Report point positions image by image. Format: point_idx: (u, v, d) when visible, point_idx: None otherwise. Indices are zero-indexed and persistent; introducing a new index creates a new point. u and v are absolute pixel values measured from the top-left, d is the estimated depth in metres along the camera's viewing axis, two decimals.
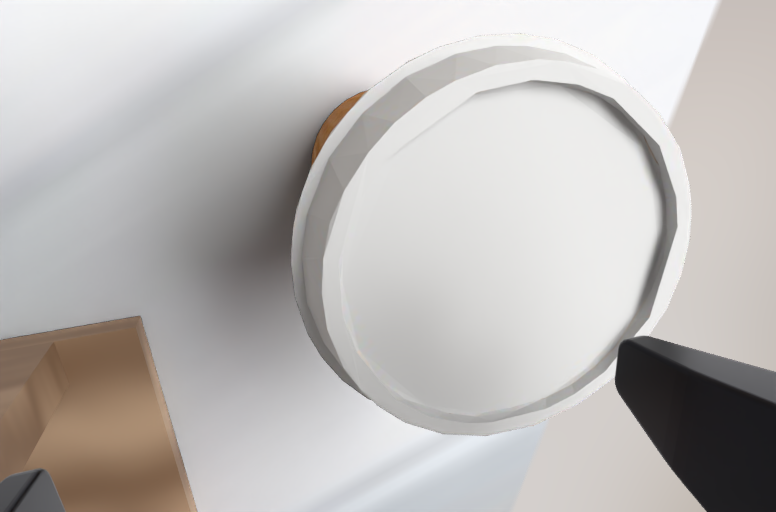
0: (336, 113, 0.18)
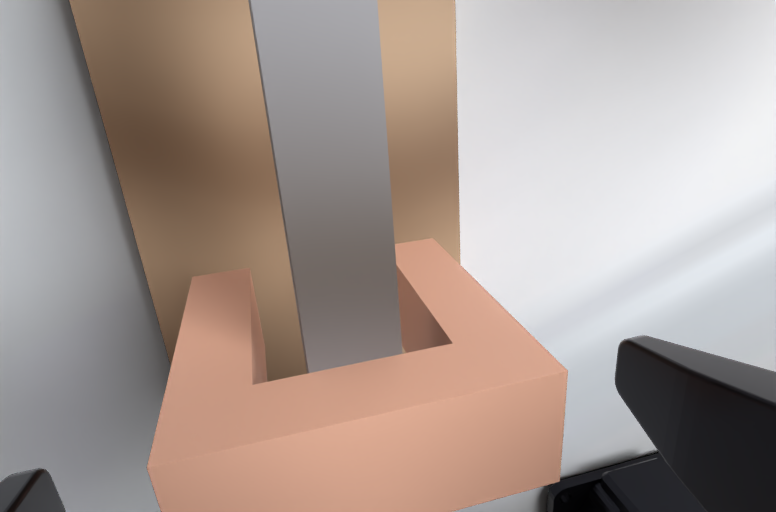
0: None
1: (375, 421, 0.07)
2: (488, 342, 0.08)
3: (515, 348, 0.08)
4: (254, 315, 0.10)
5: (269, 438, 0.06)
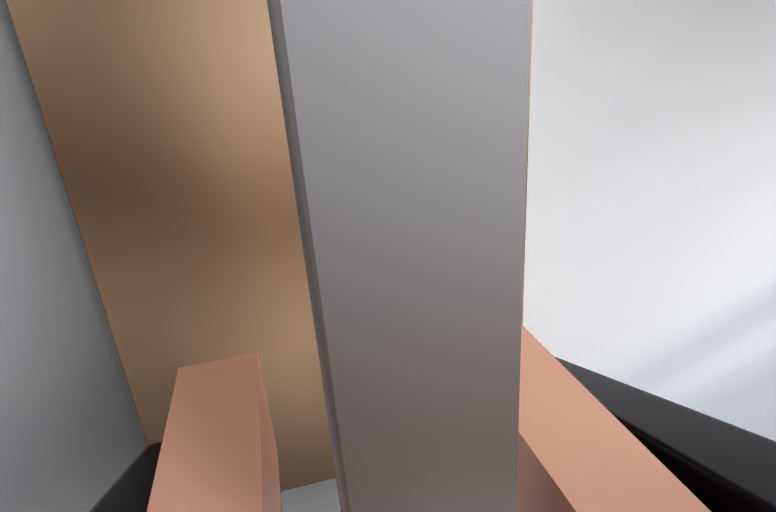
0: None
1: None
2: None
3: None
4: (265, 433, 0.07)
5: None
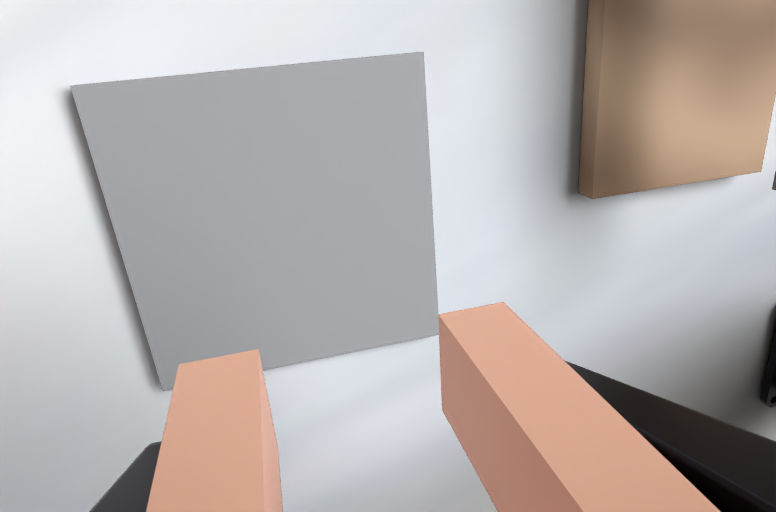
0: None
1: None
2: None
3: None
4: (266, 430, 0.07)
5: None
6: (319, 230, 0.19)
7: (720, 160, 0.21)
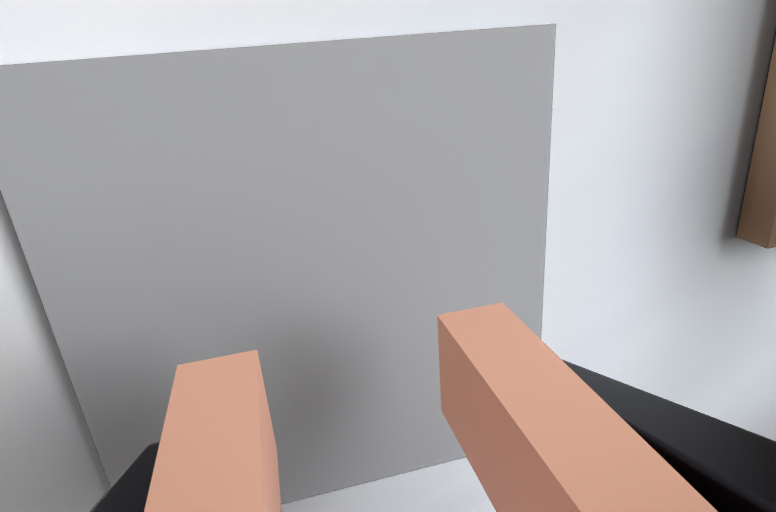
0: None
1: None
2: None
3: None
4: (264, 431, 0.07)
5: None
6: (377, 301, 0.12)
7: None
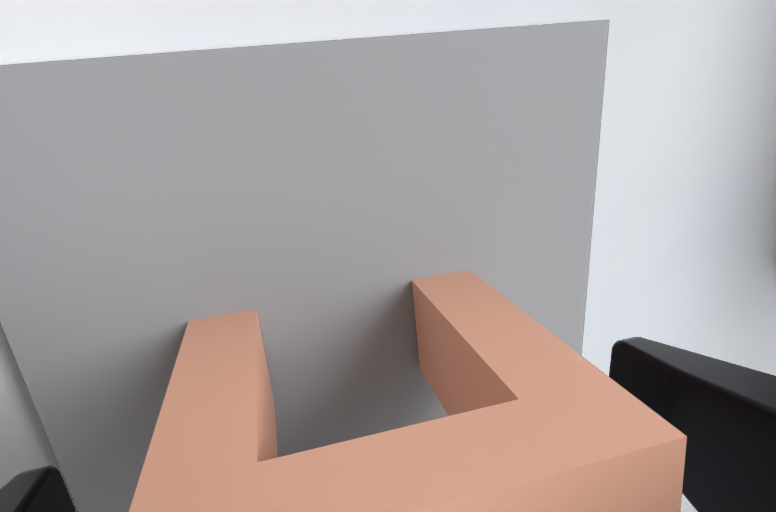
0: None
1: None
2: (566, 397, 0.06)
3: (604, 403, 0.06)
4: (261, 366, 0.08)
5: None
6: (398, 337, 0.10)
7: None
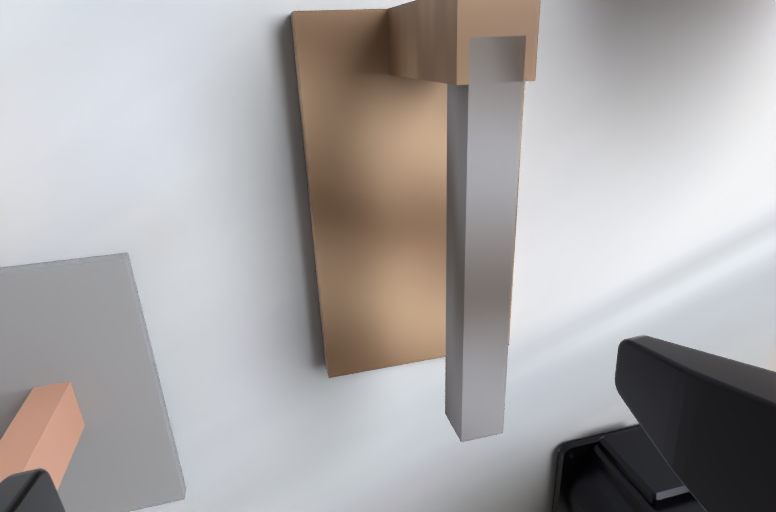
0: None
1: None
2: None
3: None
4: None
5: None
6: None
7: None
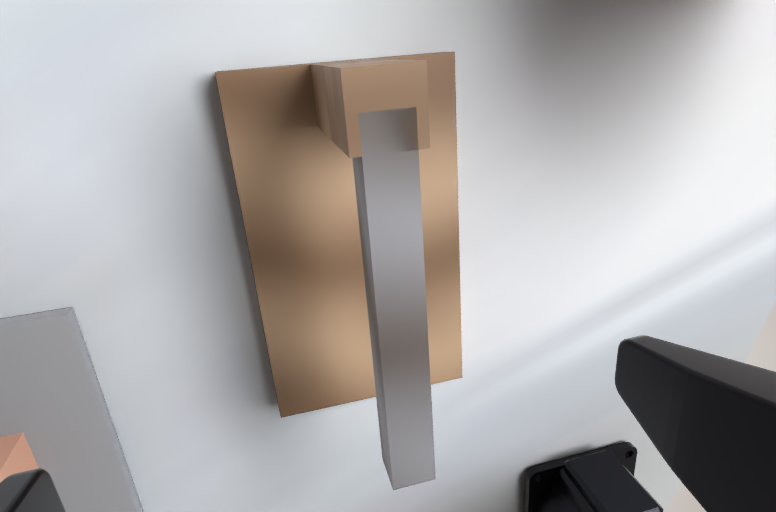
0: None
1: None
2: None
3: None
4: None
5: None
6: None
7: None
